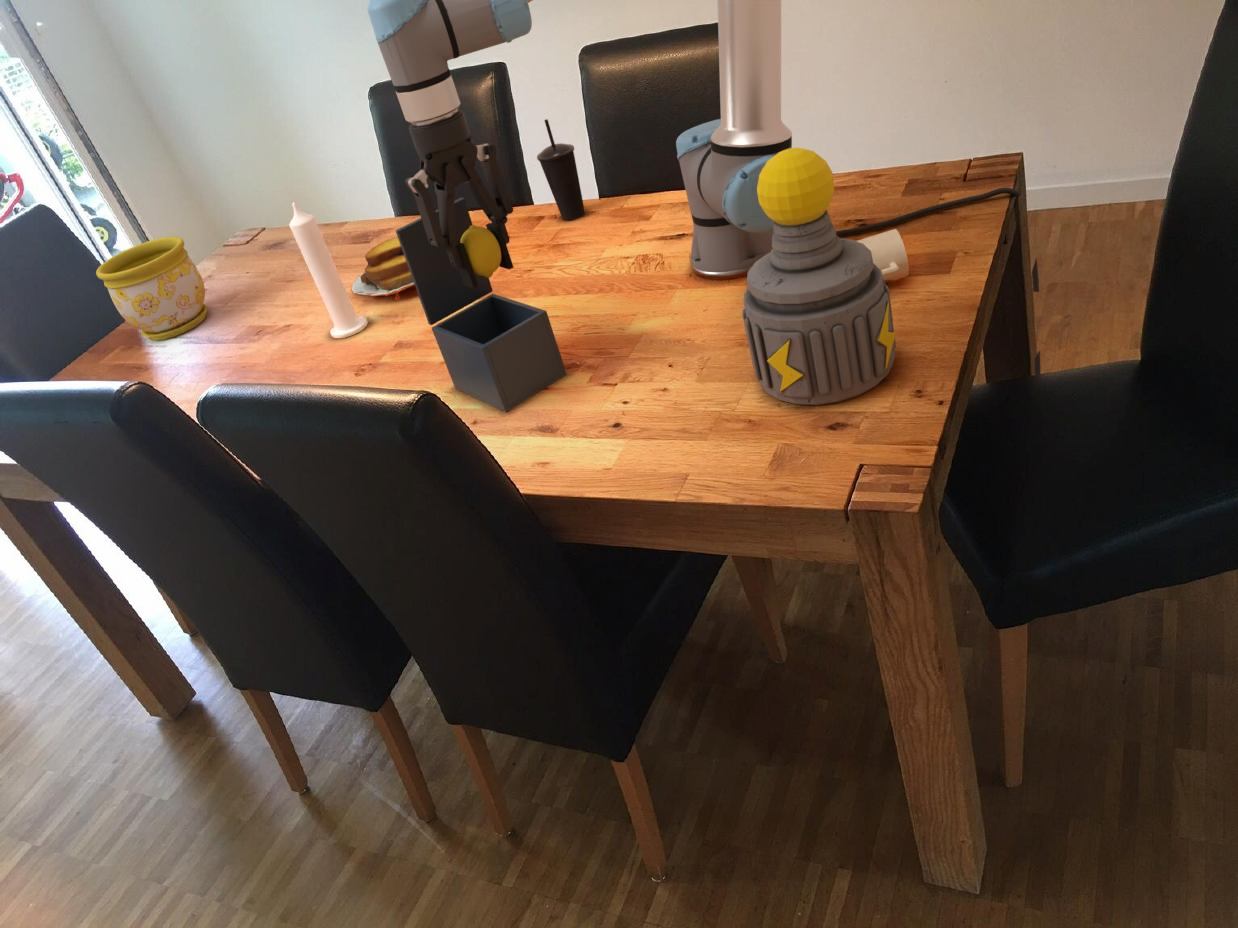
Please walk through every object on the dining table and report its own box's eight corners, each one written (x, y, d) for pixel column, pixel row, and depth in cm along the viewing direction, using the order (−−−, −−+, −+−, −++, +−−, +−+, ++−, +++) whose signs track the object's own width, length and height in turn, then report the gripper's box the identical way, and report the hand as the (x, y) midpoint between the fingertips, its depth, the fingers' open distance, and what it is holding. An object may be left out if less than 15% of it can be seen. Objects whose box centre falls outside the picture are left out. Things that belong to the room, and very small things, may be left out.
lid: (464, 198, 148) (461, 197, 149) (397, 231, 143) (395, 230, 144) (493, 291, 158) (490, 290, 158) (431, 325, 153) (428, 324, 153)
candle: (374, 318, 192) (320, 192, 178) (355, 337, 186) (297, 208, 173) (344, 321, 195) (289, 197, 181) (324, 339, 189) (265, 213, 176)
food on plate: (412, 308, 191) (400, 277, 187) (330, 301, 206) (316, 272, 202) (498, 247, 206) (488, 217, 202) (416, 245, 221) (404, 216, 217)
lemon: (472, 275, 149) (454, 224, 145) (508, 265, 149) (491, 214, 145) (469, 290, 145) (451, 237, 140) (507, 280, 144) (490, 227, 140)
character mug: (827, 315, 148) (916, 288, 147) (816, 270, 145) (907, 242, 143) (813, 287, 158) (896, 261, 156) (803, 245, 154) (888, 218, 152)
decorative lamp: (795, 330, 146) (757, 124, 130) (922, 341, 135) (898, 116, 119) (729, 400, 135) (680, 184, 119) (862, 418, 124) (827, 182, 108)
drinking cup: (587, 220, 206) (559, 122, 196) (551, 226, 209) (522, 130, 198) (595, 205, 212) (569, 110, 202) (561, 211, 215) (533, 117, 204)
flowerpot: (199, 300, 228) (163, 232, 219) (232, 312, 215) (195, 240, 206) (124, 338, 219) (83, 269, 210) (153, 354, 206) (112, 280, 198)
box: (567, 374, 153) (546, 310, 147) (505, 412, 148) (481, 348, 142) (514, 353, 164) (492, 293, 158) (455, 388, 159) (430, 327, 153)
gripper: (476, 90, 141) (525, 245, 153) (361, 140, 133) (422, 299, 145) (506, 92, 136) (554, 253, 148) (387, 144, 128) (449, 309, 140)
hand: (489, 276), depth 147 cm, fingers closed on lemon, 6 cm apart
